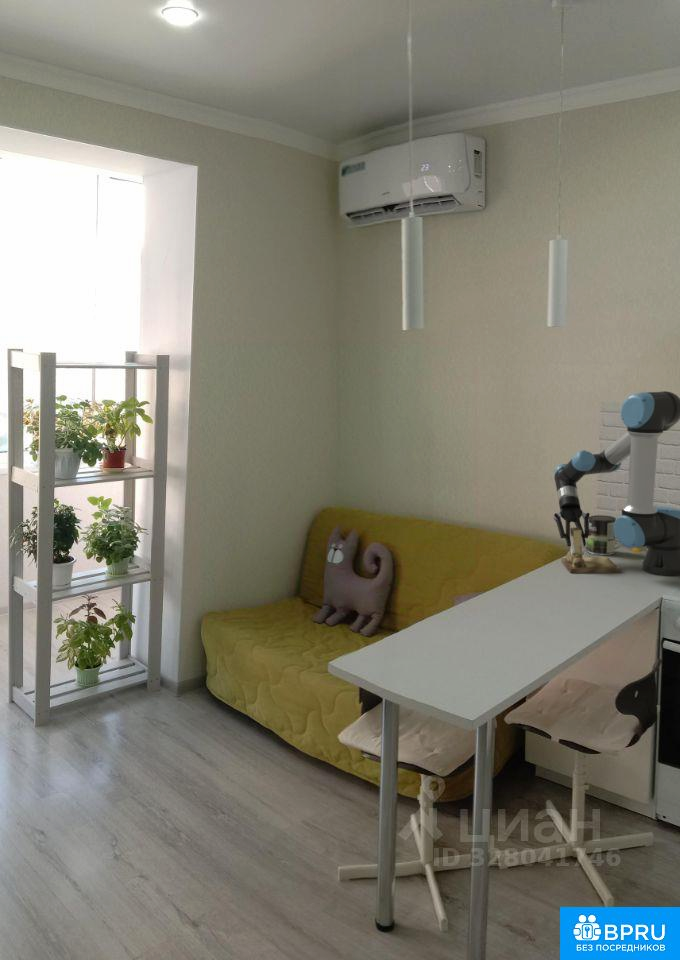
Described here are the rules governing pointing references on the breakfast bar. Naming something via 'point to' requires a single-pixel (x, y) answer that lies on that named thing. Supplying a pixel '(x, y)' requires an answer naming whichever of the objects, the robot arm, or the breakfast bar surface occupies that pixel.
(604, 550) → the coffee can
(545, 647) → the breakfast bar surface
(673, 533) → the robot arm
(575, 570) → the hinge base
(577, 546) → the beige rectangular block
